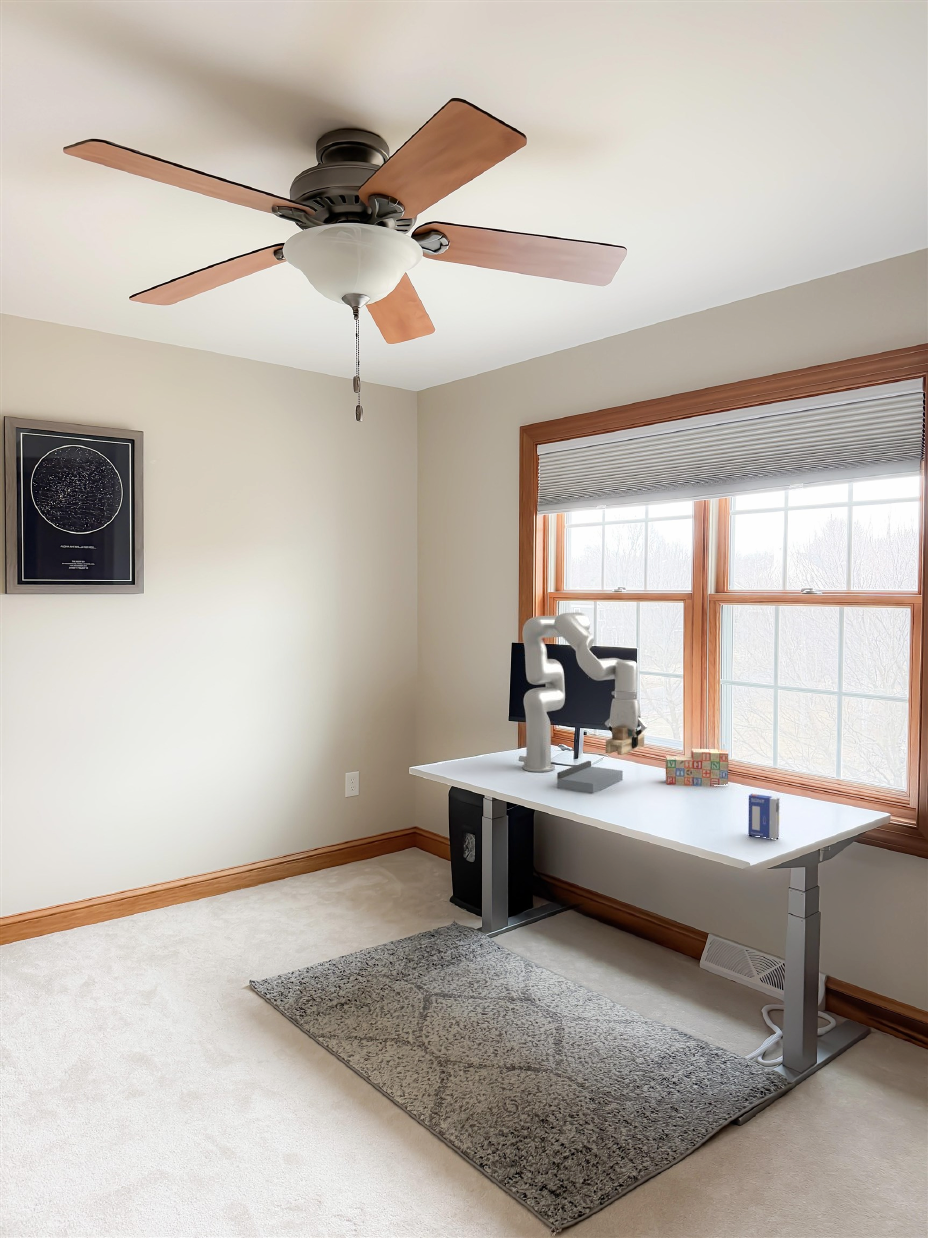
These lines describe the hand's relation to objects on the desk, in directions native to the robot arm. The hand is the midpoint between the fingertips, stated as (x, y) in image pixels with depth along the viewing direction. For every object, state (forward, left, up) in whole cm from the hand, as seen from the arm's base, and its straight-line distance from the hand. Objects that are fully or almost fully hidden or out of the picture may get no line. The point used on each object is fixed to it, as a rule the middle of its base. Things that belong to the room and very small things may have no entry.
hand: (625, 746), depth 291 cm
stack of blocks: (+18, +22, -16) cm, 32 cm away
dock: (-13, 0, -15) cm, 20 cm away
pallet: (0, 0, -1) cm, 1 cm away
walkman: (+56, -29, -15) cm, 64 cm away
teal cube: (0, +4, +3) cm, 6 cm away
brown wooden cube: (0, -5, +3) cm, 6 cm away
